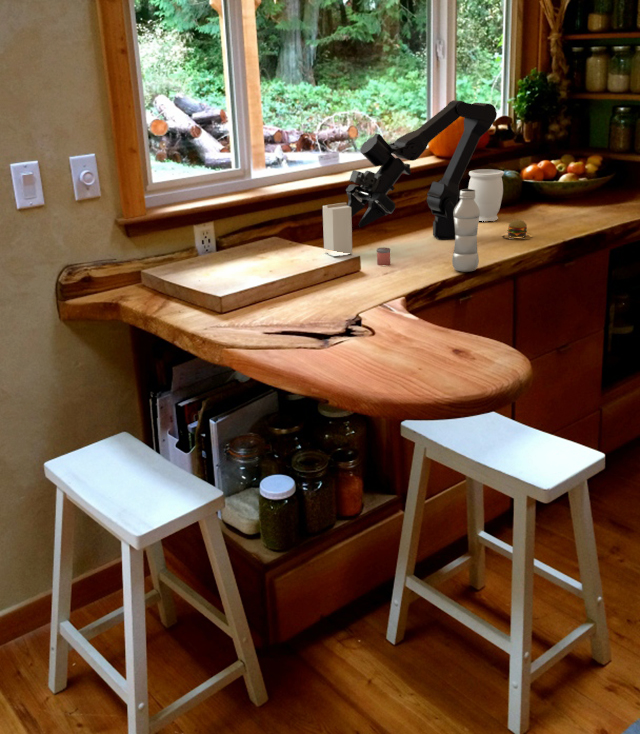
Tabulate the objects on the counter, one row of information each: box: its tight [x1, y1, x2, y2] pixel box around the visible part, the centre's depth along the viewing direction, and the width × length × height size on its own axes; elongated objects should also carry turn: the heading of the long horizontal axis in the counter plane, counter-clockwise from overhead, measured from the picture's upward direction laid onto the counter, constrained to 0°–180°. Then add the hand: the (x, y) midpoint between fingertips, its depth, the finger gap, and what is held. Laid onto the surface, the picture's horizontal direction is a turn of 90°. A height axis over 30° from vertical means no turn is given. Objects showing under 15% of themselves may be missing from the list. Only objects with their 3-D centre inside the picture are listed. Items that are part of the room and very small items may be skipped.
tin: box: [376, 247, 391, 266], centre depth 212 cm, size 4×4×4 cm
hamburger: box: [506, 219, 528, 237], centre depth 234 cm, size 12×12×6 cm
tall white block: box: [322, 202, 353, 255], centre depth 222 cm, size 6×6×14 cm
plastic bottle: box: [451, 188, 480, 273], centre depth 200 cm, size 6×7×20 cm
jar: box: [467, 168, 505, 223], centre depth 255 cm, size 11×10×15 cm
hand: (351, 223), depth 223 cm, fingers open, 9 cm apart
